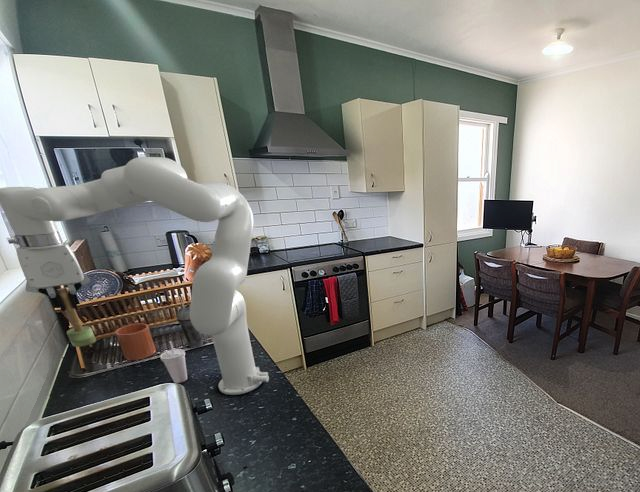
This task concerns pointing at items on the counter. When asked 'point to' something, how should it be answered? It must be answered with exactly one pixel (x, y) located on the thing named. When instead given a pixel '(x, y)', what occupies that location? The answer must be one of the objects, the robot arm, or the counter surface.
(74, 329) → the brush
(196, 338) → the beverage cup
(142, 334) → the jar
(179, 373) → the smoothie
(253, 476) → the counter surface
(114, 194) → the robot arm
